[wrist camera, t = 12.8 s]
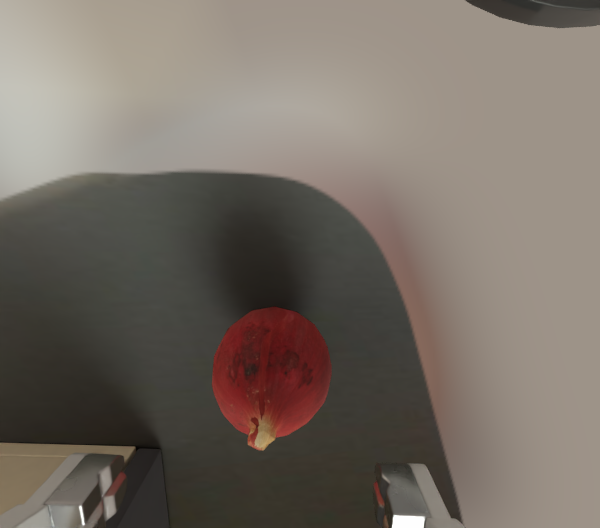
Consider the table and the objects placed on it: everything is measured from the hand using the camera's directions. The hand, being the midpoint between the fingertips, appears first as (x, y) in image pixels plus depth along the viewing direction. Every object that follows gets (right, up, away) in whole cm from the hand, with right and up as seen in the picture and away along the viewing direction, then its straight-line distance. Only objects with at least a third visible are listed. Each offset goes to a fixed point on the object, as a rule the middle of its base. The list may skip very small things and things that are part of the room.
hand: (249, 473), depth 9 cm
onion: (0, +3, +9) cm, 9 cm away
